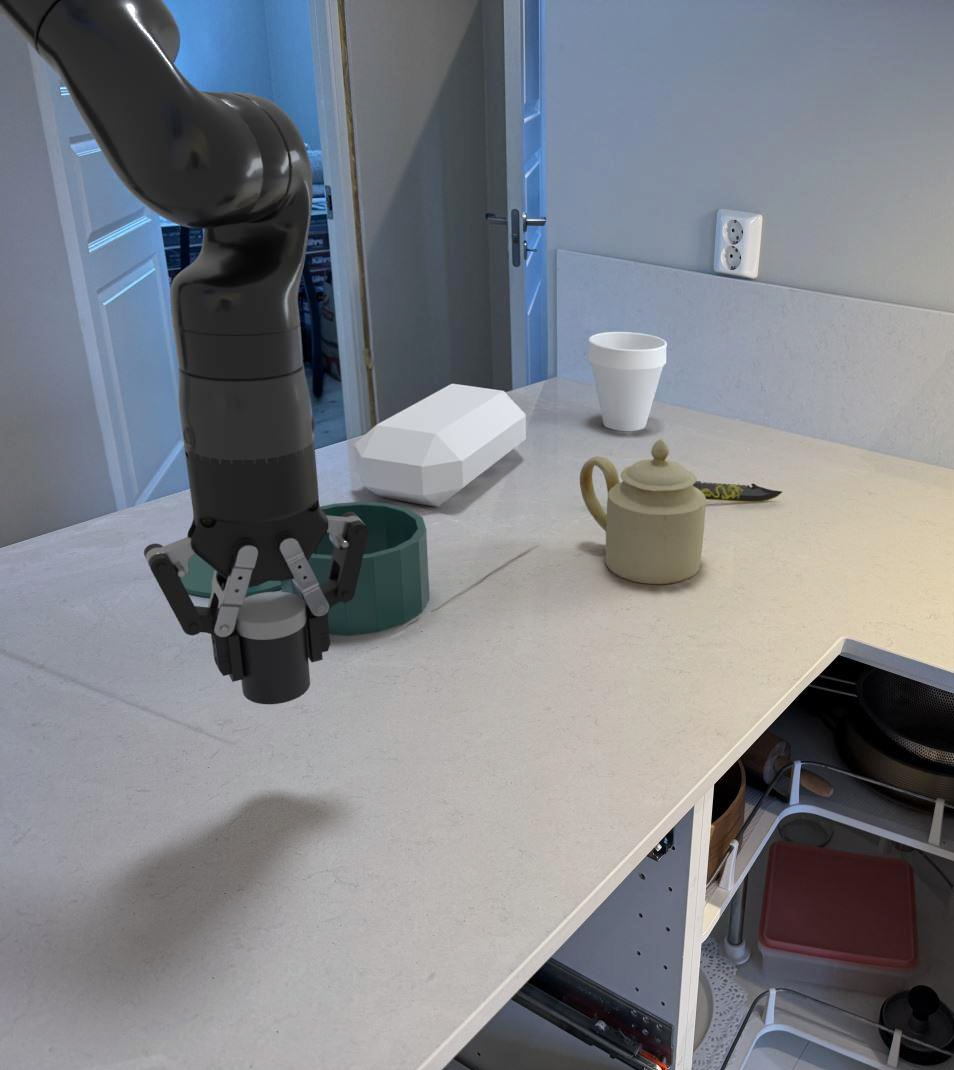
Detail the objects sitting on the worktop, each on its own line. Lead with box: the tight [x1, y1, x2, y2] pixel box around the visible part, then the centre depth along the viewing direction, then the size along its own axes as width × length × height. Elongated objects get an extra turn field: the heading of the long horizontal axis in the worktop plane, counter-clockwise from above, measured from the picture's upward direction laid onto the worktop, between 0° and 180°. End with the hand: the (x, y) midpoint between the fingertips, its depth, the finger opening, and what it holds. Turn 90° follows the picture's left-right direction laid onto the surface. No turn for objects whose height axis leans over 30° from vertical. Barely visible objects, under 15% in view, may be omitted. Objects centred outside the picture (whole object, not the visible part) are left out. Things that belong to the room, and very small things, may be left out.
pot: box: [281, 501, 431, 637], centre depth 98 cm, size 14×14×8 cm
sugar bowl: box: [579, 438, 707, 585], centre depth 110 cm, size 15×11×15 cm
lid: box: [180, 554, 282, 598], centre depth 103 cm, size 15×15×6 cm
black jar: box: [235, 591, 311, 705], centre depth 69 cm, size 5×5×6 cm
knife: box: [693, 480, 783, 503], centre depth 130 cm, size 23×2×5 cm, turn 107°
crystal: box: [353, 383, 527, 508], centre depth 131 cm, size 14×10×28 cm
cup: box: [587, 331, 668, 432], centre depth 157 cm, size 12×12×14 cm
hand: (274, 664), depth 70 cm, fingers closed on black jar, 4 cm apart
